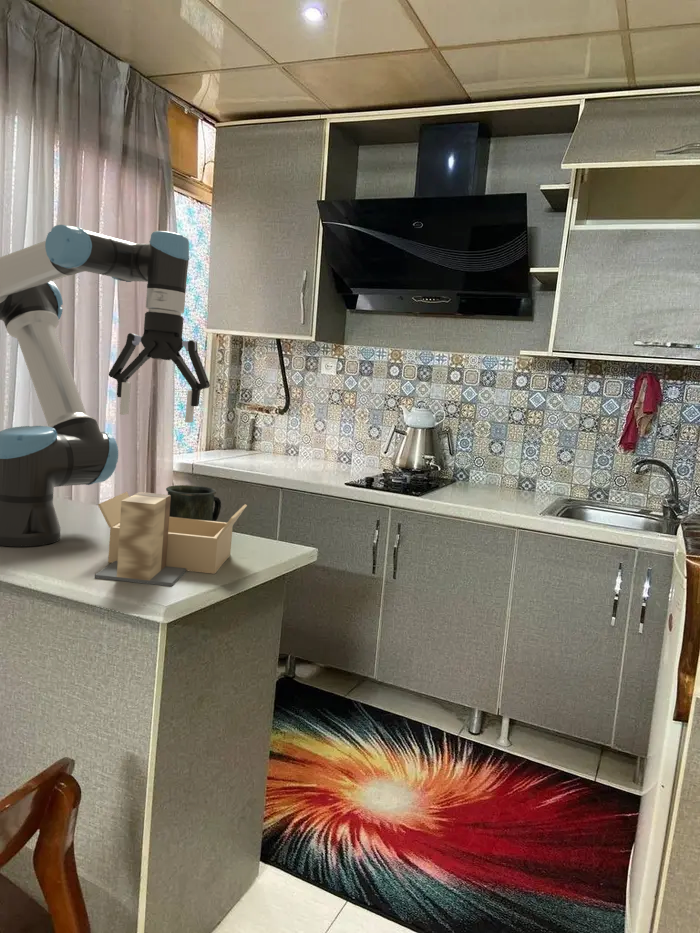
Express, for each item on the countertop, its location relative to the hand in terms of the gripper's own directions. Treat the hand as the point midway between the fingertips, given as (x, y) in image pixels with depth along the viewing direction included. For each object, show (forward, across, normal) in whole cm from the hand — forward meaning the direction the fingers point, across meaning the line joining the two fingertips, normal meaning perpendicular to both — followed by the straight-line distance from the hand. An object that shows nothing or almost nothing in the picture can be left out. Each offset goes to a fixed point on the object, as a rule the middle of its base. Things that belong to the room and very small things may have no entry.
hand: (156, 418), depth 145 cm
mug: (+28, +6, +15) cm, 32 cm away
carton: (+28, +6, -2) cm, 29 cm away
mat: (+28, +5, -16) cm, 32 cm away
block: (+27, +5, -16) cm, 32 cm away
